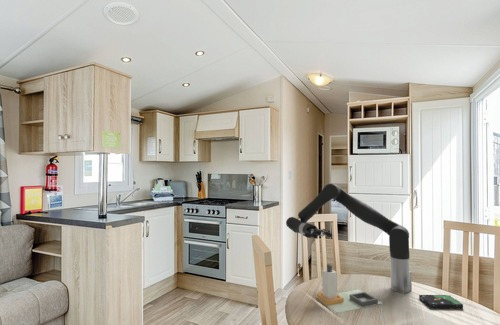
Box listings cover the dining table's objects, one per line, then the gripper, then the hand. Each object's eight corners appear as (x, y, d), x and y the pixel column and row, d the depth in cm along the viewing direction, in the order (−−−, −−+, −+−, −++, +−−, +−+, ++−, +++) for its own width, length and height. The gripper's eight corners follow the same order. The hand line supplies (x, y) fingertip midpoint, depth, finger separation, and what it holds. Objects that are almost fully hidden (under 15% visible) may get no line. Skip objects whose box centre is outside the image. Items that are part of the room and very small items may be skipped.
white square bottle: (331, 297, 148) (330, 262, 148) (337, 301, 143) (336, 265, 144) (322, 298, 147) (322, 264, 147) (328, 302, 142) (327, 267, 142)
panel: (358, 291, 157) (358, 285, 157) (382, 305, 141) (382, 298, 141) (315, 299, 148) (315, 293, 148) (336, 315, 132) (336, 308, 132)
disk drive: (430, 310, 136) (463, 310, 136) (430, 304, 136) (463, 304, 136) (418, 300, 147) (449, 299, 146) (418, 294, 147) (449, 294, 146)
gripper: (296, 224, 167) (312, 230, 152) (318, 222, 172) (335, 227, 157) (297, 237, 167) (312, 244, 152) (318, 235, 172) (335, 241, 157)
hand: (324, 236), depth 155 cm, fingers open, 8 cm apart
